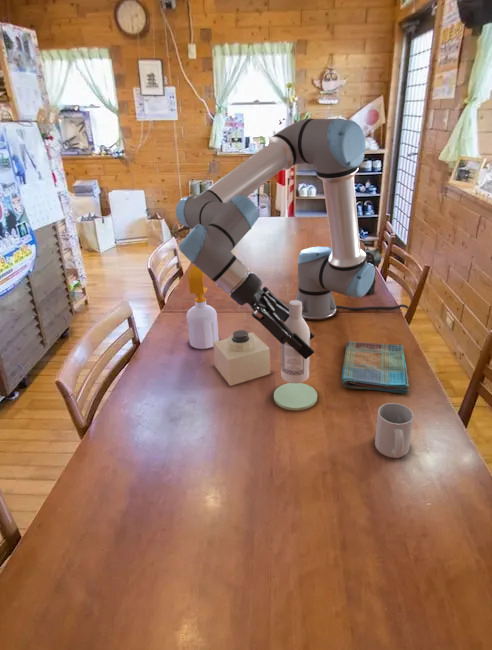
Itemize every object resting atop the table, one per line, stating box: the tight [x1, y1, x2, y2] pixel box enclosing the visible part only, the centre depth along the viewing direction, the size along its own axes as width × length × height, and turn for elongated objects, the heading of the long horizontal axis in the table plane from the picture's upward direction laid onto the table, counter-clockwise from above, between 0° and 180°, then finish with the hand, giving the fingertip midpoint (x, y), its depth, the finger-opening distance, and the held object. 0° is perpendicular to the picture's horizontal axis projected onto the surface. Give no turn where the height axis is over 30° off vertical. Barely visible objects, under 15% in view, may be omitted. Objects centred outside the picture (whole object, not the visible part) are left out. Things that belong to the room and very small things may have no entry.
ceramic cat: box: [359, 239, 382, 295], centre depth 176 cm, size 20×6×20 cm, turn 46°
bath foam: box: [280, 299, 311, 383], centre depth 108 cm, size 7×7×20 cm
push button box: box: [213, 331, 271, 387], centre depth 125 cm, size 12×11×10 cm
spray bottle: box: [186, 265, 220, 350], centre depth 136 cm, size 9×9×25 cm
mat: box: [273, 382, 318, 412], centre depth 115 cm, size 11×11×1 cm
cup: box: [374, 402, 415, 459], centre depth 95 cm, size 7×10×9 cm
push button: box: [232, 329, 249, 343], centre depth 122 cm, size 4×4×2 cm
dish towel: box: [341, 340, 410, 395], centre depth 126 cm, size 17×23×2 cm
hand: (309, 346), depth 108 cm, fingers closed on bath foam, 7 cm apart
